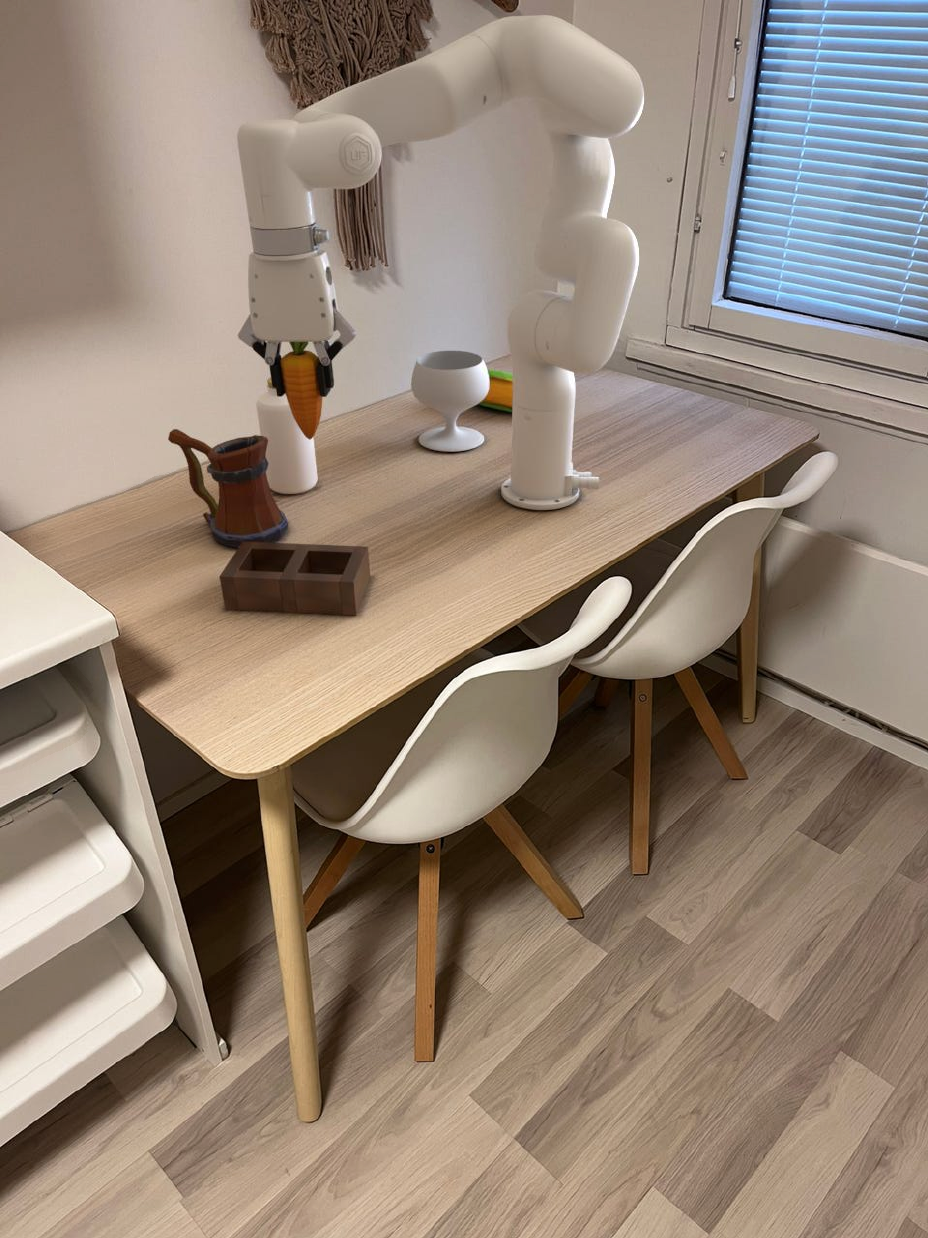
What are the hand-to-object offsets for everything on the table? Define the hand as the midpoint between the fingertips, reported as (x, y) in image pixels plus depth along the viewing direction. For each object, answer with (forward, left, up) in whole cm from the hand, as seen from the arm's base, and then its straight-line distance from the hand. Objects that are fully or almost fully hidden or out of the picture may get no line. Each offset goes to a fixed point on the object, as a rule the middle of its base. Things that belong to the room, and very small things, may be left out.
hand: (304, 391), depth 115 cm
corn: (-22, -65, -25) cm, 73 cm away
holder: (+1, +9, -25) cm, 26 cm away
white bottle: (+11, -25, -25) cm, 37 cm away
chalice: (-13, -47, -25) cm, 55 cm away
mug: (+16, -9, -25) cm, 31 cm away
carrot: (0, 0, -7) cm, 7 cm away
